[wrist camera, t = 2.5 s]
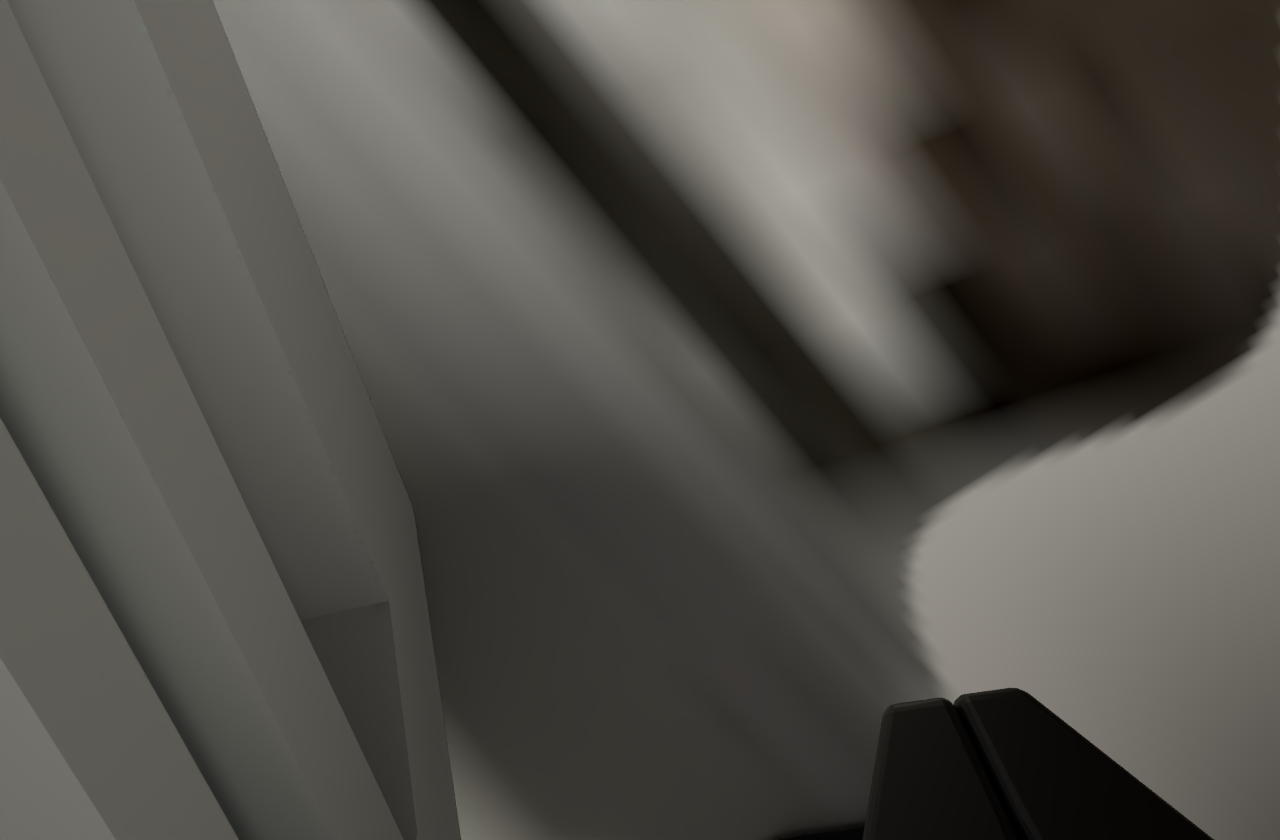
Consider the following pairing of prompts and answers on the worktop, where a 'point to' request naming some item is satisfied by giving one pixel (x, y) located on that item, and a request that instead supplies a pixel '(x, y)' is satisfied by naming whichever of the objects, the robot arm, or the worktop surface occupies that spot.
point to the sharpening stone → (188, 470)
